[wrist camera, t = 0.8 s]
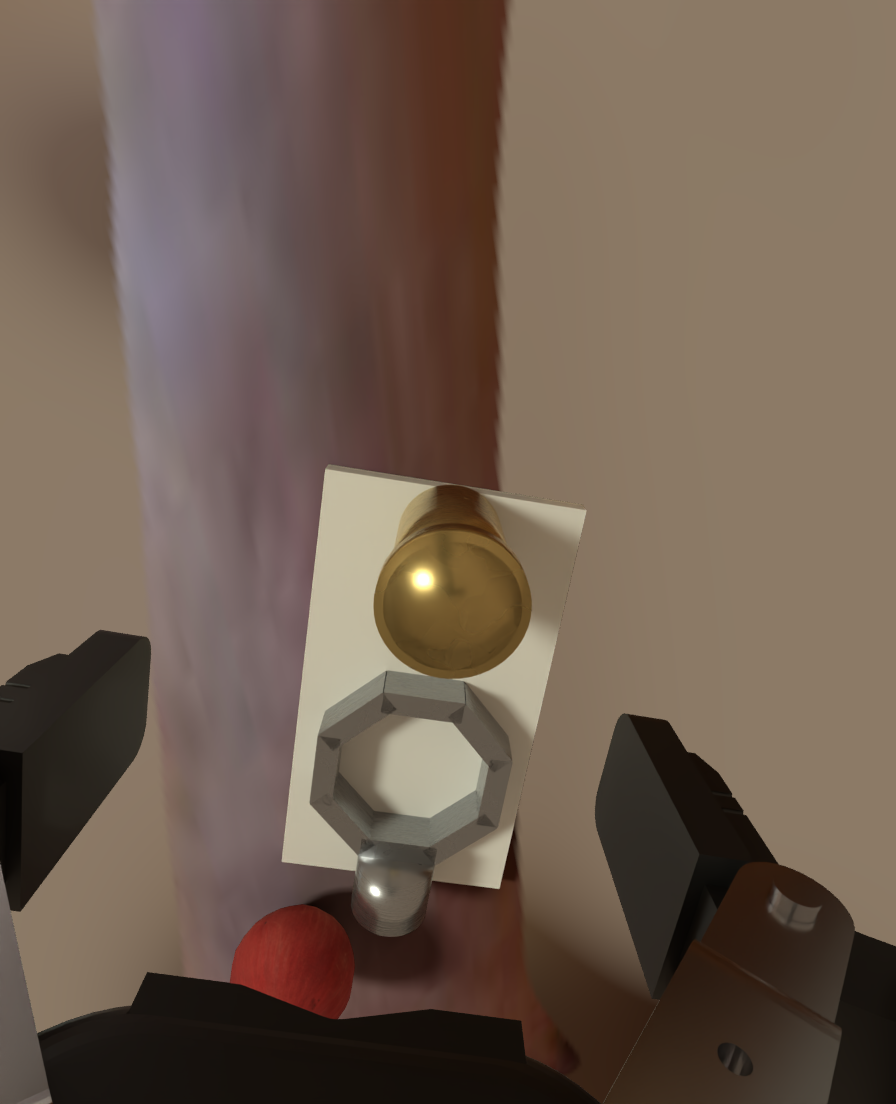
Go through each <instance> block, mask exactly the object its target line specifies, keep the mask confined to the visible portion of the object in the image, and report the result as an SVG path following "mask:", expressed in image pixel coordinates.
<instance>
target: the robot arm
mask: <svg viewBox="0 0 896 1104" xmlns="http://www.w3.org/2000/svg"><path fill="white" fill-rule="evenodd" d="M150 659H151V645H150V641H149V639H148V638H147V637H142V636H136V635H129V634H123V633H117V632H111V631H104V630H99V631H97V632H96V633H95V634H93V635H92V636H91V637H90V638H88V639H87V640H86V641H85V642H84V643H82V644H81V645H80V646H79V647H78V648H76V649H75V650H74V651H73V652H72V653H70V654H69V655H65V654H56V655H54V656H51V657H49V658H46V659H43V660H41V661H38V662H36V663H33V664H30V665H27V666H26V667H25V668H24V669H22V670H21V671H20V672H18V673H17V674H16V675H14V676H13V677H12V678H11V679H9V680H8V681H7V682H6V685H1V686H0V1104H600V1102H598V1101H597V1100H596V1099H595V1098H594V1097H592V1096H591V1095H590V1094H589V1093H587V1092H586V1091H585V1090H584V1089H582V1088H581V1087H580V1086H579V1085H577V1084H576V1083H575V1082H573V1081H572V1080H570V1079H569V1078H567V1077H566V1076H564V1075H563V1074H561V1073H560V1072H558V1071H556V1070H554V1069H552V1068H550V1067H548V1066H547V1065H545V1064H543V1063H541V1062H539V1061H537V1060H534V1059H532V1058H530V1057H527V1056H525V1049H524V1040H523V1032H522V1024H521V1021H519V1020H511V1019H503V1018H496V1017H488V1016H480V1015H472V1014H465V1013H457V1012H449V1011H442V1010H434V1009H429V1010H420V1011H411V1012H402V1013H394V1014H385V1015H376V1016H368V1017H359V1018H350V1019H330V1018H327V1017H323V1016H321V1015H318V1014H316V1013H313V1012H311V1011H308V1010H305V1009H303V1008H300V1007H298V1006H295V1005H293V1004H290V1003H288V1002H285V1001H282V1000H280V999H277V998H275V997H272V996H270V995H267V994H264V993H262V992H259V991H257V990H254V989H252V988H249V987H247V986H244V985H241V984H234V983H227V982H219V981H211V980H203V979H196V978H188V977H179V976H173V975H165V974H157V973H149V972H147V974H146V976H145V978H144V980H143V982H142V984H141V986H140V989H139V991H138V993H137V995H136V997H135V999H134V1001H133V1003H132V1006H124V1007H117V1008H112V1009H107V1010H103V1011H98V1012H93V1013H90V1014H87V1015H84V1016H80V1017H77V1018H74V1019H71V1020H68V1021H65V1022H63V1023H61V1024H58V1025H56V1026H53V1027H51V1028H49V1029H46V1030H44V1031H41V1032H39V1033H37V1031H36V1027H35V1022H34V1017H33V1013H32V1008H31V1003H30V999H29V994H28V990H27V985H26V980H25V976H24V971H23V967H22V962H21V957H20V953H19V948H18V943H17V939H16V934H15V929H14V925H13V920H12V916H11V911H10V910H12V911H21V910H22V909H23V908H24V906H25V905H26V903H27V902H28V901H29V899H30V898H31V897H32V896H33V894H34V893H35V891H36V890H37V889H38V888H39V886H40V885H41V884H42V882H43V881H44V879H45V878H46V877H47V875H48V874H49V873H50V871H51V870H52V869H53V867H54V866H55V865H56V863H57V862H58V861H59V859H60V858H61V857H62V855H63V854H64V853H65V851H66V850H67V849H68V847H69V846H70V845H71V843H72V842H73V841H74V839H75V838H76V837H77V835H78V834H79V833H80V831H81V830H82V829H83V827H84V826H85V824H86V823H87V822H88V820H89V819H90V818H91V816H92V815H93V814H94V813H95V811H96V810H97V808H98V807H99V806H100V804H101V803H102V802H103V800H104V799H105V798H106V796H107V795H108V794H109V792H110V791H111V790H112V788H113V787H114V786H115V784H116V783H117V782H118V780H119V779H120V778H121V776H122V775H123V774H124V772H125V771H126V770H127V768H128V767H129V766H130V764H131V763H132V762H133V760H134V758H135V757H136V755H137V753H138V751H139V748H140V746H141V743H142V740H143V736H144V732H145V727H146V718H147V704H148V689H149V674H150ZM595 820H596V827H597V831H598V835H599V837H600V840H601V844H602V847H603V850H604V853H605V856H606V859H607V862H608V865H609V868H610V871H611V874H612V878H613V881H614V883H615V887H616V890H617V893H618V896H619V899H620V902H621V905H622V908H623V911H624V914H625V917H626V921H627V923H628V926H629V930H630V933H631V936H632V939H633V942H634V945H635V948H636V951H637V954H638V957H639V960H640V964H641V967H642V970H643V972H644V976H645V979H646V982H647V985H648V988H649V991H650V994H651V997H652V999H659V1000H660V1001H659V1002H658V1004H657V1006H656V1008H655V1010H654V1012H653V1013H652V1015H651V1017H650V1019H649V1021H648V1023H647V1024H646V1026H645V1028H644V1030H643V1032H642V1034H641V1035H640V1037H639V1039H638V1041H637V1043H636V1044H635V1046H634V1048H633V1050H632V1052H631V1053H630V1055H629V1057H628V1059H627V1061H626V1062H625V1064H624V1066H623V1068H622V1070H621V1072H620V1073H619V1075H618V1077H617V1079H616V1081H615V1083H614V1084H613V1086H612V1088H611V1090H610V1092H609V1093H608V1095H607V1097H606V1099H605V1101H604V1103H603V1104H896V946H893V945H890V944H888V943H885V942H882V941H880V940H877V939H874V938H872V937H868V936H866V935H863V934H861V933H859V932H856V931H855V927H854V922H853V920H852V917H851V915H850V914H849V912H848V911H847V909H846V908H845V906H844V905H843V904H842V903H841V902H840V901H839V899H838V898H836V897H835V896H834V895H833V894H832V893H831V892H830V891H829V890H827V889H826V888H825V887H824V886H822V885H821V884H819V883H818V882H816V881H815V880H813V879H812V878H810V877H808V876H806V875H804V874H802V873H800V872H798V871H796V870H793V869H791V868H788V867H786V866H782V865H779V864H778V863H777V862H776V860H775V858H774V857H773V855H772V854H771V852H770V851H769V849H768V847H767V846H766V844H765V843H764V841H763V840H762V838H761V837H760V835H759V834H758V832H757V831H756V829H755V828H754V826H753V825H752V823H751V822H750V820H749V819H748V817H747V816H746V815H743V809H742V808H741V807H740V805H739V804H738V802H737V800H736V799H735V798H733V797H732V793H731V791H730V790H729V788H728V787H727V785H726V784H725V782H724V780H723V779H722V777H721V776H720V774H719V773H718V772H717V771H716V770H714V769H713V768H712V767H711V766H710V765H708V764H707V763H706V762H705V761H704V760H702V759H701V758H700V757H699V756H698V755H696V754H695V753H689V752H687V751H686V749H685V748H684V746H683V745H682V743H681V741H680V740H679V738H678V736H677V735H676V733H675V731H674V730H673V728H672V726H671V725H670V723H669V722H668V721H666V720H662V719H656V718H649V717H642V716H636V715H630V714H622V715H621V716H620V718H619V719H618V721H617V723H616V726H615V729H614V733H613V736H612V740H611V744H610V747H609V751H608V755H607V758H606V762H605V765H604V769H603V773H602V776H601V780H600V784H599V788H598V792H597V796H596V806H595Z"/></svg>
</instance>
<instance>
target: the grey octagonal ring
mask: <svg viewBox="0 0 896 1104" xmlns="http://www.w3.org/2000/svg"><path fill="white" fill-rule="evenodd" d="M389 714H393V715H400V716H407V717H415V718H422V719H429V720H436V721H444V722H451V723H453V724H454V725H455V726H456V727H457V729H458V730H459V731H460V732H461V734H462V735H463V736H464V737H465V738H466V740H467V741H468V742H469V743H470V745H471V746H472V747H473V748H474V749H475V751H476V752H477V753H478V754H479V755H480V757H481V758H482V763H481V768H480V772H479V777H478V782H477V787H476V790H475V791H473V792H472V793H470V794H468V795H467V796H465V797H464V798H462V799H460V800H459V801H457V802H455V803H454V804H452V805H450V806H449V807H447V808H446V809H444V810H442V811H441V812H439V813H437V814H436V815H434V816H432V817H431V818H425V817H418V816H410V815H402V814H395V813H387V812H379V811H374V810H373V809H372V808H371V807H370V806H369V805H368V804H367V803H366V801H365V800H364V799H363V798H362V797H361V796H360V795H359V794H358V793H357V791H356V790H355V789H354V788H353V787H352V786H351V785H350V784H349V783H348V781H347V780H346V779H345V778H344V777H343V776H342V775H341V774H340V773H339V766H340V759H341V752H342V745H343V744H344V743H346V742H347V741H349V740H350V739H352V738H354V737H355V736H357V735H358V734H360V733H361V732H363V731H364V730H366V729H367V728H369V727H371V726H372V725H374V724H375V723H377V722H378V721H380V720H381V719H383V718H384V717H386V716H387V715H389ZM512 763H513V762H512V755H511V749H510V743H509V737H508V735H507V734H506V732H505V731H504V730H503V729H502V727H501V726H500V725H499V724H498V722H497V721H496V720H495V719H494V717H493V716H492V715H491V714H490V712H489V711H488V710H487V709H486V707H485V706H484V705H483V704H482V702H481V701H480V700H479V699H478V697H477V696H476V695H475V694H474V692H473V691H472V690H471V689H470V687H469V686H468V685H467V684H466V682H464V681H460V680H453V679H444V678H437V677H432V676H425V675H418V674H411V673H404V672H396V671H389V670H387V671H385V672H383V673H382V674H380V675H379V676H377V677H376V678H374V679H373V680H371V681H370V682H368V683H367V684H365V685H363V686H362V687H360V688H359V689H357V690H356V691H354V692H353V693H351V694H350V695H348V696H347V697H345V698H344V699H342V700H341V701H339V702H338V703H336V704H335V705H333V706H332V707H330V708H329V709H327V710H326V711H325V713H324V716H323V720H322V723H321V726H320V730H319V733H318V737H317V745H316V753H315V761H314V769H313V778H312V786H311V794H310V802H309V803H310V805H311V806H312V807H313V808H314V809H315V810H316V811H317V812H318V814H319V815H320V816H321V817H322V818H323V819H324V820H325V821H326V822H327V823H328V824H329V825H330V826H331V827H332V829H333V830H334V831H335V832H336V833H337V834H338V835H339V836H340V837H341V838H342V839H343V840H344V841H345V842H346V844H347V845H348V846H349V847H350V848H351V849H352V850H353V851H354V852H355V853H356V854H357V855H358V859H357V865H356V872H355V879H354V885H353V892H352V898H351V910H352V913H353V915H354V917H355V919H356V920H357V922H358V923H359V924H360V925H361V926H362V927H363V928H365V929H366V930H368V931H370V932H372V933H374V934H377V935H380V936H386V937H397V936H402V935H406V934H408V933H410V932H412V931H414V930H415V929H416V928H418V927H419V926H420V924H421V923H422V922H423V920H424V917H425V914H426V909H427V904H428V899H429V893H430V888H431V883H432V878H433V873H434V868H435V865H437V864H439V863H440V862H442V861H444V860H445V859H447V858H449V857H450V856H452V855H454V854H455V853H457V852H459V851H460V850H462V849H464V848H465V847H467V846H469V845H471V844H472V843H474V842H476V841H477V840H479V839H481V838H482V837H484V836H486V835H487V834H489V833H491V832H492V831H494V830H496V829H497V828H498V826H499V821H500V817H501V812H502V808H503V803H504V799H505V794H506V790H507V785H508V781H509V776H510V772H511V767H512Z"/></svg>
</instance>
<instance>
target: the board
mask: <svg viewBox="0 0 896 1104" xmlns="http://www.w3.org/2000/svg"><path fill="white" fill-rule="evenodd" d="M440 485H456V484H450V483H443V482H437V481H431V480H425V479H418V478H412V477H406V476H399V475H393V474H387V473H380V472H374V471H368V470H362V469H355V468H349V467H343V466H336V465H330V464H329V465H328V466H327V468H326V469H325V477H324V486H323V495H322V504H321V513H320V522H319V531H318V540H317V549H316V558H315V567H314V576H313V585H312V594H311V603H310V612H309V621H308V630H307V639H306V648H305V657H304V666H303V675H302V684H301V693H300V702H299V711H298V720H297V729H296V738H295V747H294V756H293V765H292V773H291V782H290V791H289V800H288V809H287V818H286V827H285V836H284V845H283V854H282V862H288V863H296V864H304V865H312V866H320V867H328V868H336V869H344V870H352V871H356V865H357V859H358V855H357V854H356V853H355V852H354V851H353V850H352V849H351V848H350V847H349V846H348V845H347V844H346V842H345V841H344V840H343V839H342V838H341V837H340V836H339V835H338V834H337V833H336V832H335V831H334V830H333V829H332V827H331V826H330V825H329V824H328V823H327V822H326V821H325V820H324V819H323V818H322V817H321V816H320V815H319V814H318V812H317V811H316V810H315V809H314V808H313V807H312V806H311V805H310V803H309V802H310V794H311V786H312V778H313V769H314V761H315V753H316V745H317V737H318V733H319V730H320V726H321V723H322V720H323V716H324V713H325V711H326V710H327V709H329V708H330V707H332V706H333V705H335V704H336V703H338V702H339V701H341V700H342V699H344V698H345V697H347V696H348V695H350V694H351V693H353V692H354V691H356V690H357V689H359V688H360V687H362V686H363V685H365V684H367V683H368V682H370V681H371V680H373V679H374V678H376V677H377V676H379V675H380V674H382V673H383V672H385V671H387V670H389V671H396V672H404V673H411V674H418V675H425V674H422V673H420V672H418V671H415V670H413V669H411V668H410V667H408V666H407V665H405V664H404V663H402V662H401V661H400V660H399V659H397V658H396V657H395V656H394V655H393V654H392V652H391V651H390V650H389V649H388V648H387V646H386V645H385V643H384V642H383V640H382V638H381V636H380V634H379V632H378V629H377V626H376V623H375V618H374V609H373V603H374V594H375V589H376V585H377V581H378V577H379V574H380V571H381V568H382V566H383V564H384V562H385V560H386V558H387V557H388V556H389V554H390V553H391V552H392V550H393V549H394V546H395V541H396V536H397V531H398V527H399V522H400V519H401V516H402V514H403V512H404V510H405V508H406V507H407V506H408V504H409V503H410V502H411V501H412V500H413V499H414V498H415V497H416V496H418V495H419V494H420V493H422V492H424V491H425V490H428V489H430V488H433V487H436V486H440ZM460 486H462V485H460ZM464 487H467V488H470V489H472V490H474V491H476V492H478V493H479V494H481V495H482V496H484V497H485V498H486V499H487V500H488V501H489V502H490V504H491V505H492V506H493V508H494V509H495V511H496V513H497V515H498V517H499V520H500V524H501V527H502V530H503V534H504V537H505V540H506V544H507V545H508V546H509V547H510V548H511V550H512V551H513V552H514V553H515V554H516V556H517V558H518V559H519V561H520V563H521V565H522V567H523V569H524V572H525V575H526V578H527V581H528V584H529V588H530V591H531V598H532V612H531V619H530V623H529V626H528V629H527V631H526V634H525V636H524V638H523V640H522V641H521V643H520V644H519V646H518V647H517V648H516V650H515V651H514V652H513V653H512V654H511V655H510V656H509V657H508V658H507V659H506V660H505V661H503V662H502V663H501V664H499V665H498V666H496V667H495V668H493V669H491V670H489V671H487V672H484V673H482V674H480V675H476V676H472V677H468V678H461V679H453V680H460V681H464V682H466V684H467V685H468V686H469V687H470V689H471V690H472V691H473V692H474V694H475V695H476V696H477V697H478V699H479V700H480V701H481V702H482V704H483V705H484V706H485V707H486V709H487V710H488V711H489V712H490V714H491V715H492V716H493V717H494V719H495V720H496V721H497V722H498V724H499V725H500V726H501V727H502V729H503V730H504V731H505V732H506V734H507V735H508V737H509V743H510V749H511V755H512V762H513V763H512V767H511V772H510V776H509V781H508V785H507V790H506V794H505V799H504V803H503V808H502V812H501V817H500V821H499V826H498V828H497V829H496V830H494V831H492V832H491V833H489V834H487V835H486V836H484V837H482V838H481V839H479V840H477V841H476V842H474V843H472V844H471V845H469V846H467V847H465V848H464V849H462V850H460V851H459V852H457V853H455V854H454V855H452V856H450V857H449V858H447V859H445V860H444V861H442V862H440V863H439V864H437V865H435V868H434V873H433V878H432V881H440V882H448V883H456V884H464V885H472V886H480V887H488V888H496V889H499V888H500V884H501V880H502V875H503V871H504V867H505V862H506V858H507V854H508V849H509V845H510V841H511V836H512V832H513V828H514V823H515V819H516V815H517V810H518V806H519V802H520V797H521V793H522V788H523V784H524V780H525V776H526V771H527V767H528V763H529V758H530V754H531V750H532V746H533V741H534V737H535V732H536V728H537V723H538V720H539V715H540V711H541V707H542V702H543V698H544V694H545V689H546V685H547V681H548V676H549V672H550V668H551V663H552V659H553V654H554V650H555V646H556V642H557V637H558V632H559V629H560V624H561V620H562V616H563V611H564V607H565V603H566V598H567V594H568V589H569V585H570V581H571V577H572V572H573V568H574V564H575V559H576V555H577V551H578V547H579V542H580V538H581V534H582V529H583V525H584V521H585V516H586V512H587V510H586V509H585V507H584V506H583V505H582V504H576V503H570V502H563V501H557V500H551V499H544V498H538V497H531V496H525V495H518V494H512V493H507V492H500V491H494V490H488V489H481V488H475V487H469V486H464ZM425 676H428V675H425ZM481 763H482V758H481V757H480V755H479V754H478V753H477V752H476V751H475V749H474V748H473V747H472V746H471V745H470V743H469V742H468V741H467V740H466V738H465V737H464V736H463V735H462V734H461V732H460V731H459V730H458V729H457V727H456V726H455V725H454V724H453V723H451V722H444V721H436V720H429V719H422V718H415V717H407V716H400V715H393V714H389V715H387V716H386V717H384V718H383V719H381V720H380V721H378V722H377V723H375V724H374V725H372V726H371V727H369V728H367V729H366V730H364V731H363V732H361V733H360V734H358V735H357V736H355V737H354V738H352V739H350V740H349V741H347V742H346V743H344V744H343V745H342V752H341V759H340V766H339V773H340V774H341V775H342V776H343V777H344V778H345V779H346V780H347V781H348V783H349V784H350V785H351V786H352V787H353V788H354V789H355V790H356V791H357V793H358V794H359V795H360V796H361V797H362V798H363V799H364V800H365V801H366V803H367V804H368V805H369V806H370V807H371V808H372V809H373V810H374V811H379V812H387V813H395V814H402V815H410V816H418V817H425V818H431V817H432V816H434V815H436V814H437V813H439V812H441V811H442V810H444V809H446V808H447V807H449V806H450V805H452V804H454V803H455V802H457V801H459V800H460V799H462V798H464V797H465V796H467V795H468V794H470V793H472V792H473V791H475V790H476V787H477V782H478V777H479V772H480V768H481Z"/></svg>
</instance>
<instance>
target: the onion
mask: <svg viewBox="0 0 896 1104" xmlns="http://www.w3.org/2000/svg"><path fill="white" fill-rule="evenodd" d="M354 969H355V963H354V954H353V950H352V947H351V944H350V941H349V937H348V936H347V934H346V932H345V930H344V928H343V927H342V926H341V925H340V923H339V922H338V921H337V920H336V919H335V918H334V917H333V916H331V915H330V914H328V913H326V912H324V911H322V910H321V909H319V908H317V907H314V906H309V905H304V904H301V905H294V906H288V907H284V908H281V909H279V910H276V911H274V912H272V913H270V914H268V915H266V916H265V917H263V918H262V919H261V920H259V921H258V922H257V923H255V925H254V926H253V927H252V928H251V929H250V930H249V932H248V933H247V934H246V935H245V936H244V938H243V939H242V941H241V943H240V944H239V946H238V948H237V949H236V951H235V956H234V960H233V964H232V971H231V978H230V983H234V984H241V985H244V986H247V987H249V988H252V989H254V990H257V991H259V992H262V993H264V994H267V995H270V996H272V997H275V998H277V999H280V1000H282V1001H285V1002H288V1003H290V1004H293V1005H295V1006H298V1007H300V1008H303V1009H305V1010H308V1011H311V1012H313V1013H316V1014H318V1015H321V1016H323V1017H327V1018H330V1019H338V1018H339V1016H340V1015H341V1014H342V1012H343V1011H344V1009H345V1007H346V1005H347V1003H348V1001H349V998H350V993H351V988H352V982H353V975H354Z"/></svg>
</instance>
